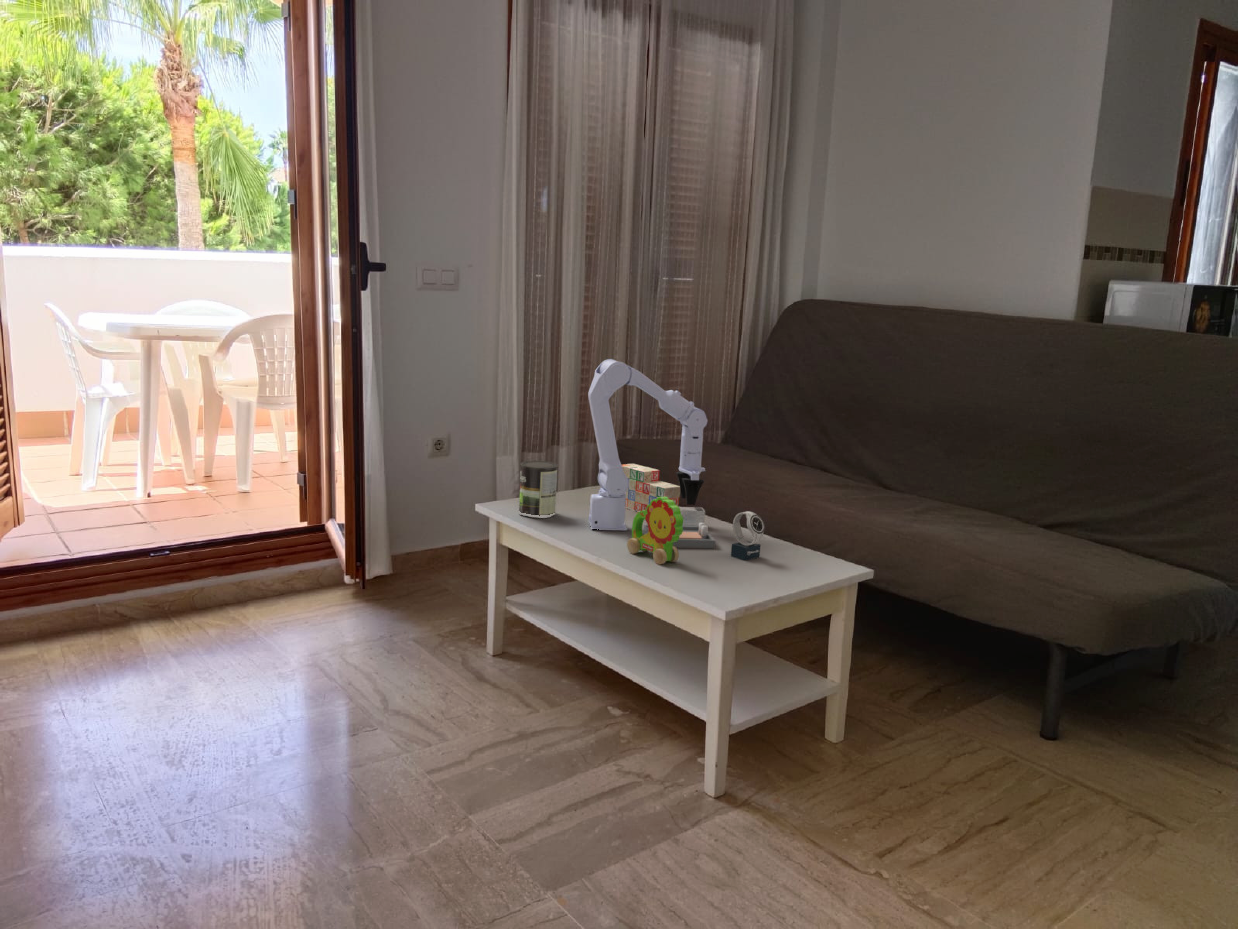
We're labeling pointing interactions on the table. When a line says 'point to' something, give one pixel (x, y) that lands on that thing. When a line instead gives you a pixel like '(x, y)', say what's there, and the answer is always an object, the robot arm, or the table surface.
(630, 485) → the stack of blocks
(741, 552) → the watch
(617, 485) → the robot arm
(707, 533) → the tray
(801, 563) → the table surface
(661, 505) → the toy lion
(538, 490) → the coffee can
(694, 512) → the drive
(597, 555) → the table surface
